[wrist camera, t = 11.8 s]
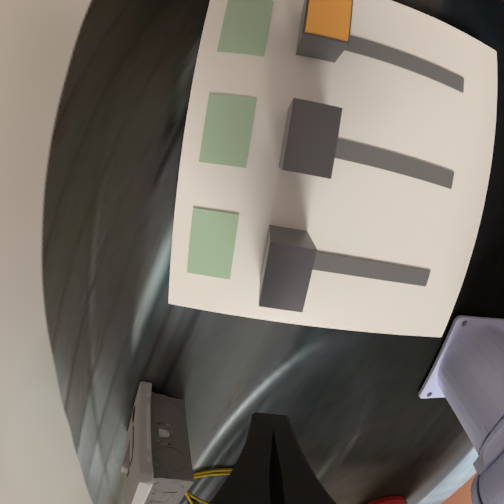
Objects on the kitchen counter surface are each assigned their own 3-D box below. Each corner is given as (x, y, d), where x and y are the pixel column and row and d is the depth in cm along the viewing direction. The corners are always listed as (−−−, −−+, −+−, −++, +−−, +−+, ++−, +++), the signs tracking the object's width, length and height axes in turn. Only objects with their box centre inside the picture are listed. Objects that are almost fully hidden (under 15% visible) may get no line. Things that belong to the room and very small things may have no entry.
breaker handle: (339, 16, 12) (354, -11, 9) (334, 62, 13) (350, 42, 10) (302, 7, 12) (309, -21, 9) (295, 54, 13) (302, 31, 10)
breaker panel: (480, 56, 14) (526, 41, 9) (429, 323, 20) (463, 364, 15) (222, -16, 14) (209, -62, 9) (176, 289, 20) (150, 332, 15)
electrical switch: (142, 374, 22) (112, 469, 13) (204, 394, 23) (196, 493, 14) (127, 434, 25) (106, 511, 16) (177, 449, 26) (167, 528, 17)
